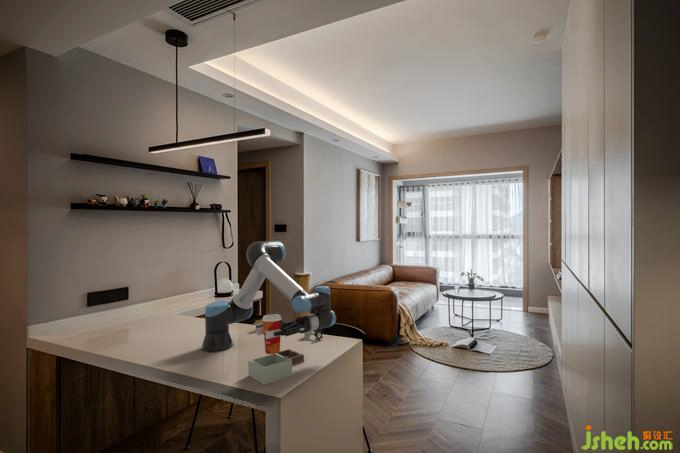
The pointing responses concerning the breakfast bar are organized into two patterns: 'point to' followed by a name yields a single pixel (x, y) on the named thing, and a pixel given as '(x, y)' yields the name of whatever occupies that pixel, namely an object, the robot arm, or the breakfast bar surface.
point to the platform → (259, 324)
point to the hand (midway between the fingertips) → (261, 333)
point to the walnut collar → (292, 356)
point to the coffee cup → (271, 324)
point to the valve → (316, 334)
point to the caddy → (270, 368)
